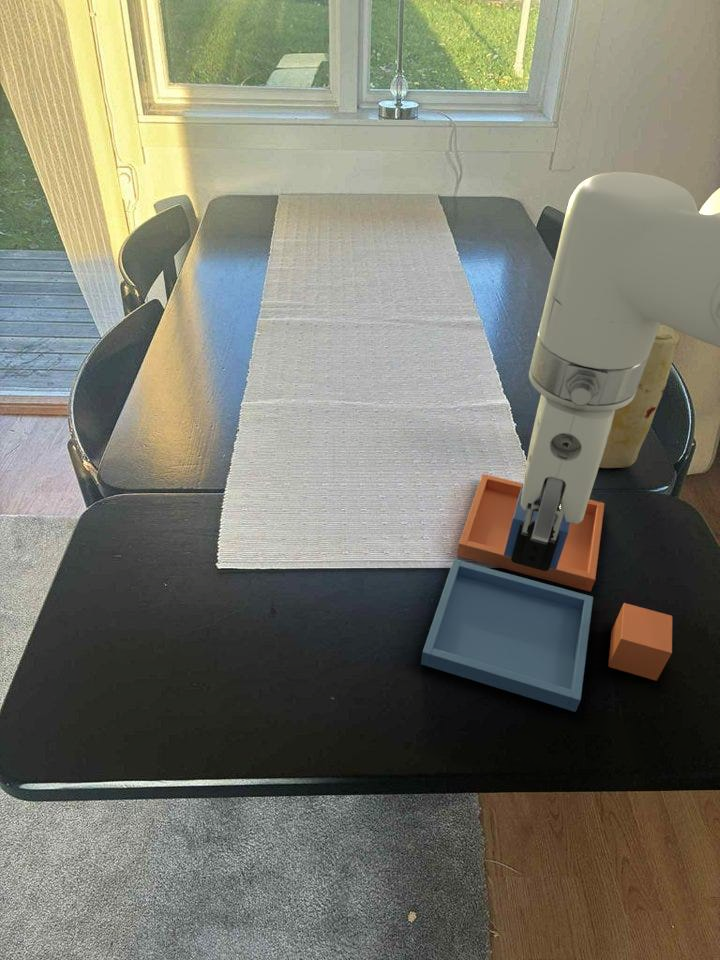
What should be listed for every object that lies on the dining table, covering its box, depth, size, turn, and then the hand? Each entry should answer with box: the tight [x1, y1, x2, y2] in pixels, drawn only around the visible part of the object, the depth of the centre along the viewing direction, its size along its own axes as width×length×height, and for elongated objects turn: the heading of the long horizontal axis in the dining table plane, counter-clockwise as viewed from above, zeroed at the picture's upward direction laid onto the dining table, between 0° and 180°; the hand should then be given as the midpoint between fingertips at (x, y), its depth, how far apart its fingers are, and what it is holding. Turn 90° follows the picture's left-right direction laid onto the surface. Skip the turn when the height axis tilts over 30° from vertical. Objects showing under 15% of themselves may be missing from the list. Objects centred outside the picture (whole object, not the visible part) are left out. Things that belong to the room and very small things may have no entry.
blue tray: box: [420, 558, 594, 713], centre depth 69 cm, size 15×13×2 cm
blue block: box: [504, 485, 570, 569], centre depth 60 cm, size 4×4×4 cm
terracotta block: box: [607, 602, 673, 681], centre depth 67 cm, size 4×4×4 cm
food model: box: [599, 323, 681, 469], centre depth 85 cm, size 10×7×20 cm
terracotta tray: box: [456, 473, 605, 593], centre depth 80 cm, size 15×13×2 cm
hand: (534, 541), depth 61 cm, fingers closed on blue block, 4 cm apart
